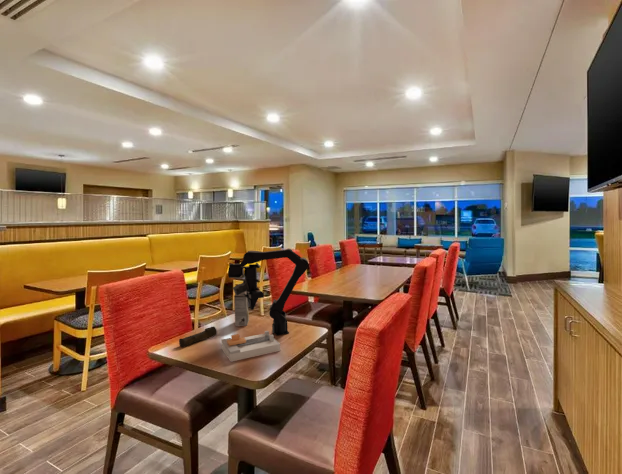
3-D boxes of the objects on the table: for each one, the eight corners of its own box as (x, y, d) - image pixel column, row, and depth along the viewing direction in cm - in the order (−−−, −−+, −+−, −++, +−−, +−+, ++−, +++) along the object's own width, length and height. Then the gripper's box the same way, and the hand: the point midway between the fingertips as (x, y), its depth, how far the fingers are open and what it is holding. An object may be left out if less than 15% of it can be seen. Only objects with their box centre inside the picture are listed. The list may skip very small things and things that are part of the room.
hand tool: (183, 348, 144) (183, 338, 144) (178, 346, 146) (178, 336, 146) (220, 336, 159) (219, 326, 158) (215, 334, 161) (214, 325, 161)
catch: (243, 339, 141) (243, 333, 141) (246, 342, 138) (245, 335, 138) (226, 342, 138) (226, 336, 138) (229, 345, 134) (229, 339, 134)
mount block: (267, 339, 152) (267, 327, 152) (280, 350, 139) (279, 337, 139) (221, 348, 143) (221, 335, 142) (230, 361, 129) (230, 347, 129)
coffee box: (237, 320, 181) (236, 291, 180) (249, 320, 181) (248, 291, 180) (234, 326, 172) (233, 295, 171) (247, 325, 172) (246, 295, 171)
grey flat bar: (268, 337, 147) (268, 335, 146) (271, 339, 143) (271, 338, 143) (235, 343, 140) (235, 342, 139) (237, 346, 136) (237, 344, 136)
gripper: (229, 276, 163) (230, 307, 164) (240, 282, 147) (241, 317, 148) (250, 273, 168) (251, 304, 169) (263, 279, 152) (264, 313, 153)
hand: (251, 309), depth 160 cm, fingers closed
